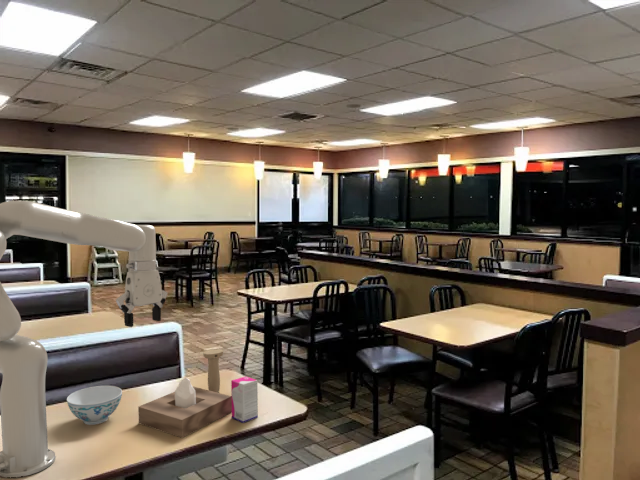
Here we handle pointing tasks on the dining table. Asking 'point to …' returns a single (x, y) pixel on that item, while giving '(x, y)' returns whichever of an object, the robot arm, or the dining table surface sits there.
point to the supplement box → (244, 399)
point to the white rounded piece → (185, 394)
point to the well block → (185, 412)
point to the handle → (213, 369)
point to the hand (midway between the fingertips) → (143, 323)
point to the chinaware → (94, 403)
